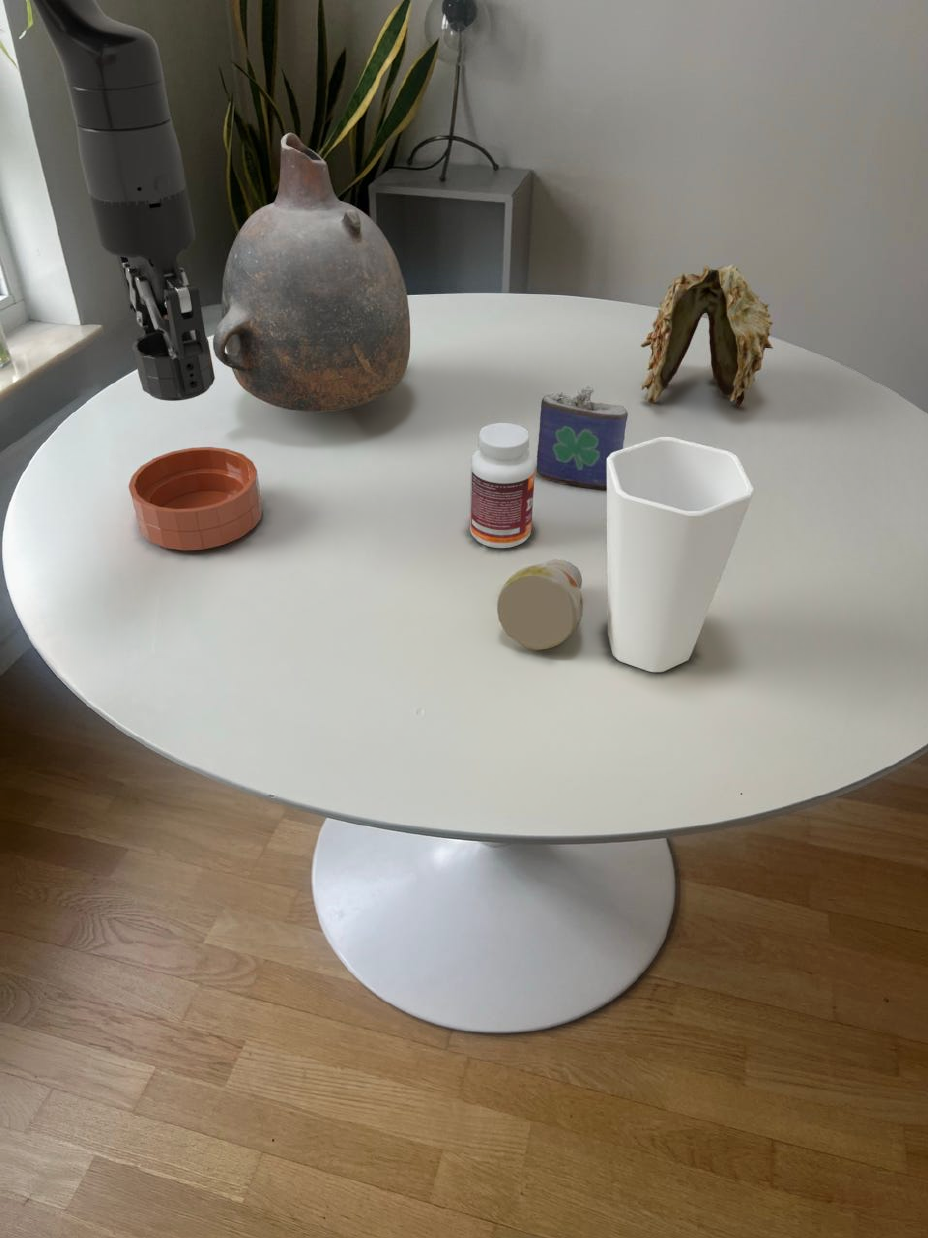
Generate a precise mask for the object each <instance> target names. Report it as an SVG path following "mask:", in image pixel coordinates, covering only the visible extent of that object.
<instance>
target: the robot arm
mask: <svg viewBox="0 0 928 1238" xmlns="http://www.w3.org/2000/svg"><path fill="white" fill-rule="evenodd" d="M31 2H32V4H33V6H34V8H35V10H36V12H37V14H38V17H39V19H40V20H41V23H42V25H43V27H44V29H45V31H46V33H47V35H48V37H49V40H50V42H51V44H52V46H53V48H54V51H55V53H56V55H57V57H58V59H59V62H60V64H61V67H62V72H63V76H64V81H65V84H66V88H67V92H68V97H69V101H70V105H71V109H72V114H73V118H74V122H75V128H76V133H77V143H78V152H79V158H80V162H81V166H82V171H83V175H84V179H85V184H86V188H87V193H88V196H89V200H90V204H91V208H92V209H91V210H92V212H93V217H94V221H95V226H96V230H97V233H98V238H99V242H100V245H101V246H102V248H103V249H104V251H106V252H107V253H109V254H111V255H114V256H116V259H117V262H118V266H119V270H120V274H121V278H122V282H123V285H124V289H125V295H126V298H127V302H128V304H127V305H128V308H129V310H130V311H131V313H132V314H136V323H138V325H139V326H140V328H142V331H143V332H142V333H143V335H145V334H148V333H151V332H155V331H157V332H159V333H162V334H163V336H164V339H165V342H166V345H167V348H168V353H169V355H170V358H171V362H172V367H173V372H174V377H175V381H176V386H177V391H178V393H179V394H180V395H181V397H183V398H189V397H193V396H197V395H199V396H201V395H203V394H204V393H203V392H204V383H203V378H202V373H201V367H200V362H199V357H198V355H202V354H206V353H208V350H207V349H208V347H207V343H206V337H207V335H206V331H205V324H204V323H205V322H204V317H203V310H202V305H201V298H200V290H199V288H198V286H197V285H196V283H190V284H189V280H188V277H187V274H186V271H185V270H184V268H183V267H180V264H179V261H178V255H179V253H181V251H183V250H184V249H185V250H186V249H187V248H189V247H190V246H191V245H192V244H193V243H194V241H195V240H196V231H195V226H194V220H193V215H192V208H191V203H190V202H191V201H190V198H189V191H188V185H187V181H186V180H187V179H186V173H185V169H184V163H183V158H182V152H181V147H180V145H179V141H178V137H177V133H176V131H175V128H174V123H173V119H172V114H171V108H170V102H169V96H168V91H167V84H166V81H165V80H166V79H165V75H164V70H163V64H162V59H161V54H160V50H159V47H158V44H157V42H156V40H155V39H154V38H153V37H152V35H151V34H149V33H148V32H146V31H145V30H142V29H140V28H138V27H135V26H133V25H129V24H126V23H122V22H120V21H118V20H115V19H112V18H111V17H109V16H107V14H105V13H104V11H103V10H102V9H101V7H100V6H99V4H98V3H97V1H96V0H31ZM184 332H186V333H187V336H188V339H189V340H188V341H184V342H183V340H182V334H183V333H184ZM205 335H206V336H205ZM202 393H203V394H202ZM200 394H201V395H200ZM197 397H198V396H197Z"/></svg>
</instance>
